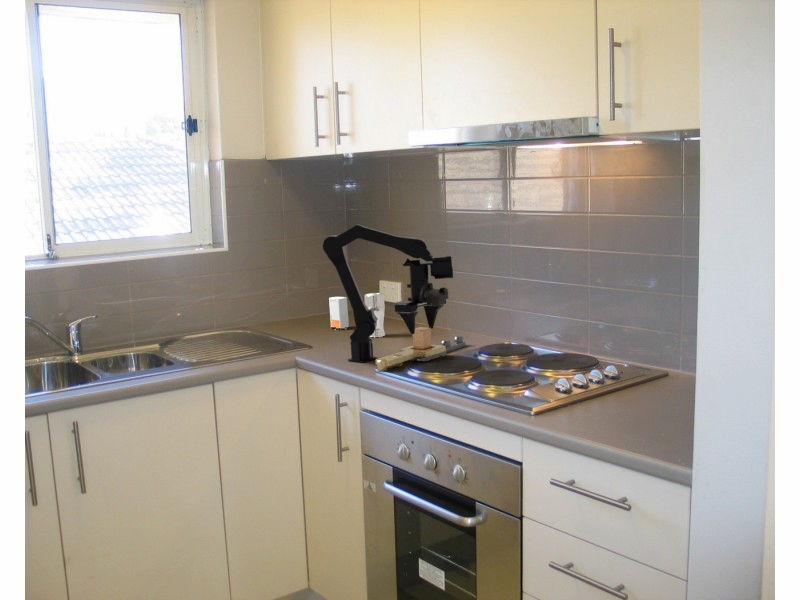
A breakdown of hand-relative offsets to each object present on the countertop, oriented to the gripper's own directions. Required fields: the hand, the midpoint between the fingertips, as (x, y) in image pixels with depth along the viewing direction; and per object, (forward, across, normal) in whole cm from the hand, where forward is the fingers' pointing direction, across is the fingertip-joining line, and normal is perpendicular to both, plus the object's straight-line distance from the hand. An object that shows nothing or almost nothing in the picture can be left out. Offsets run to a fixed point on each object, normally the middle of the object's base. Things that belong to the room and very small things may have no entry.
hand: (422, 331), depth 247 cm
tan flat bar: (+8, 0, 0) cm, 8 cm away
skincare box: (+8, +27, +60) cm, 67 cm away
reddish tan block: (+8, 0, 0) cm, 8 cm away
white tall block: (+8, +21, +37) cm, 43 cm away
